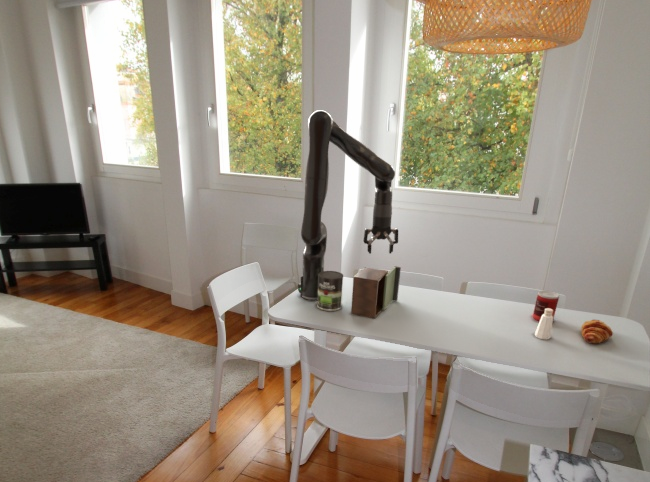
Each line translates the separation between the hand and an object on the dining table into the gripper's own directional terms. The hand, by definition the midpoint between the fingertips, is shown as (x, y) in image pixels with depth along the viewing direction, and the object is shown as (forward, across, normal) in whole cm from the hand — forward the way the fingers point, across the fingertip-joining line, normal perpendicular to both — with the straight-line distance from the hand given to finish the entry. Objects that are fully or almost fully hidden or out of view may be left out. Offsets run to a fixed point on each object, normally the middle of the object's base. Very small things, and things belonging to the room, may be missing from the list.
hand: (379, 253), depth 198 cm
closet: (+21, +6, +14) cm, 25 cm away
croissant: (+23, -77, +35) cm, 88 cm away
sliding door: (+20, -4, +8) cm, 22 cm away
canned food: (+22, -65, +19) cm, 71 cm away
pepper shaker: (+22, -57, +36) cm, 71 cm away
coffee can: (+20, +22, +10) cm, 31 cm away
